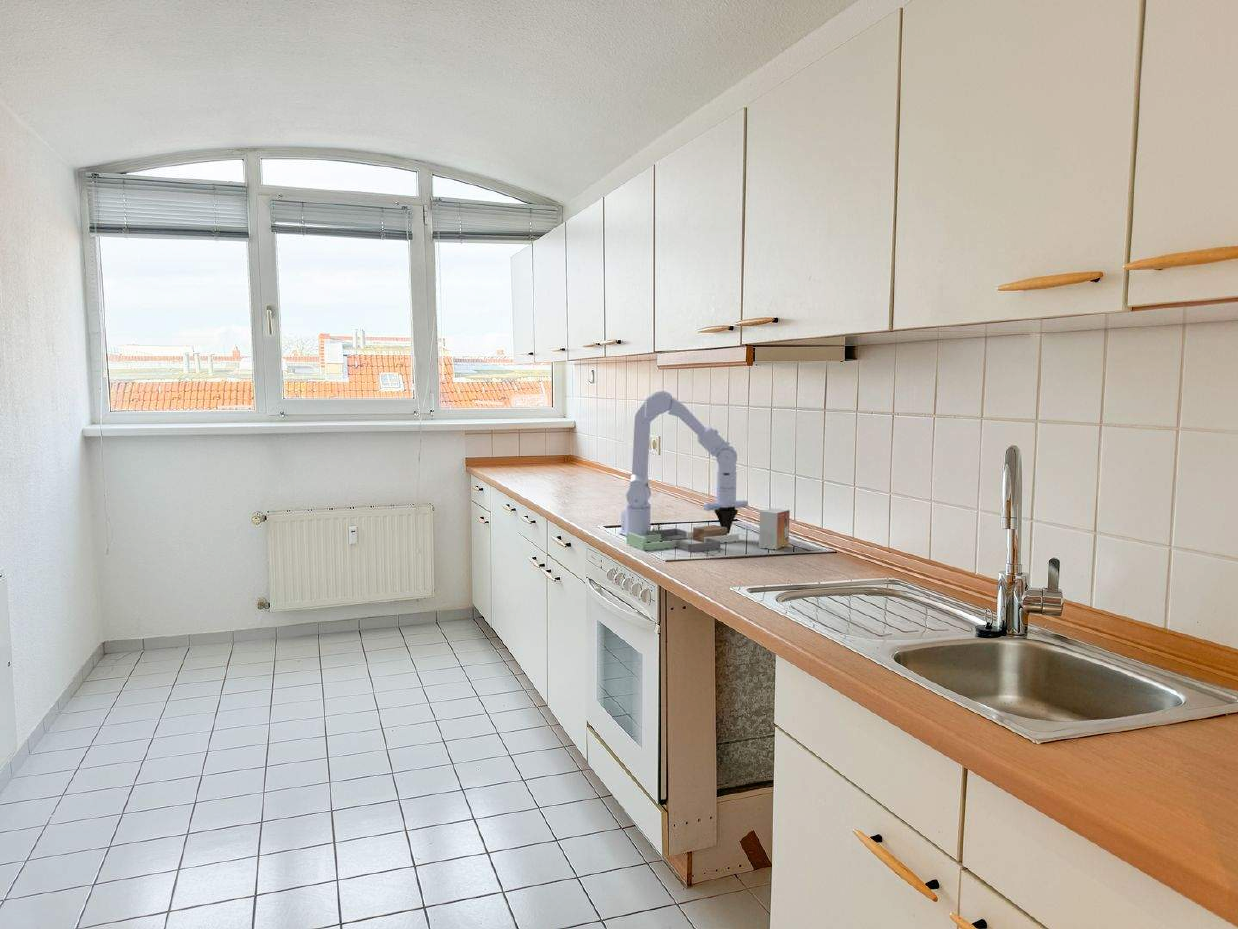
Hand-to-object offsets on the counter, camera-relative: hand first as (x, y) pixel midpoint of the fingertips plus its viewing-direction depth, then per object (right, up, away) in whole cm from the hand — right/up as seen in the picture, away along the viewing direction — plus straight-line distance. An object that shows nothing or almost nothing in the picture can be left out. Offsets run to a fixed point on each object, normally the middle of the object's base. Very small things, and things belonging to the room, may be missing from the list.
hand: (725, 533), depth 250 cm
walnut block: (-5, -2, -2) cm, 6 cm away
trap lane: (-13, -2, -7) cm, 15 cm away
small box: (+12, -3, -12) cm, 17 cm away
